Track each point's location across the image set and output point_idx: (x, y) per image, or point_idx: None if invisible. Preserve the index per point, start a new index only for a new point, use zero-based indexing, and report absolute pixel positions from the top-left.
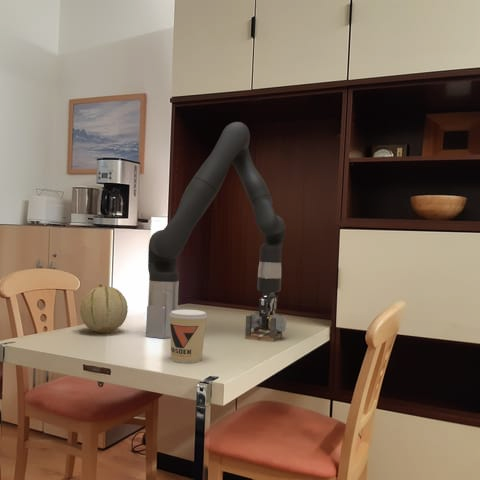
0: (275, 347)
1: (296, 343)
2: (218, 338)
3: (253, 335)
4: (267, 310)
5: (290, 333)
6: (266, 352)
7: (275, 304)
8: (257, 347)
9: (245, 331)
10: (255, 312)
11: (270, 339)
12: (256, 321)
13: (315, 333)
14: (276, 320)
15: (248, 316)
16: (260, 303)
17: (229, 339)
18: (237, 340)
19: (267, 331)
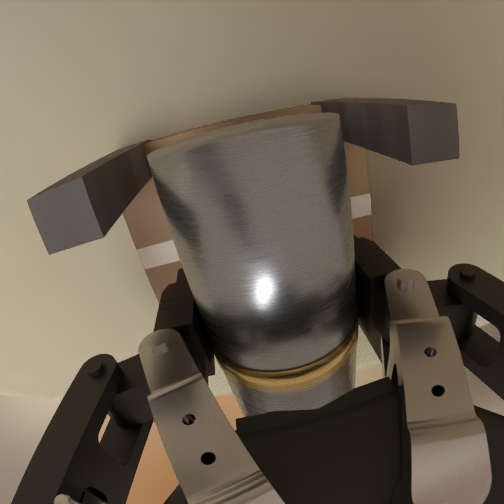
0: None
1: None
2: (16, 41)
3: (139, 208)
4: (134, 464)
5: (460, 260)
6: (13, 370)
7: (493, 387)
8: (24, 320)
9: (97, 160)
10: (440, 107)
11: None
12: (174, 243)
13: (484, 322)
14: (242, 406)
15: (41, 229)
16: (31, 498)
17: (32, 99)
18: (43, 151)
19: (363, 200)
